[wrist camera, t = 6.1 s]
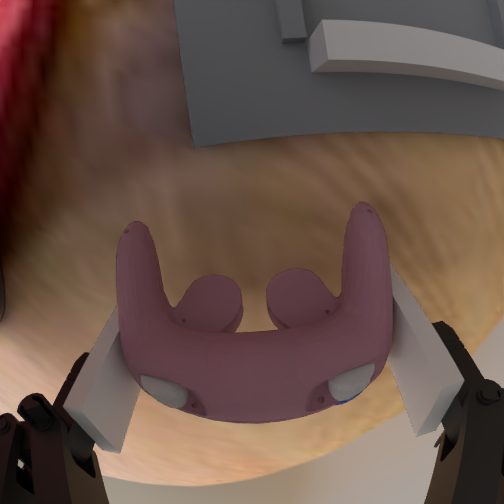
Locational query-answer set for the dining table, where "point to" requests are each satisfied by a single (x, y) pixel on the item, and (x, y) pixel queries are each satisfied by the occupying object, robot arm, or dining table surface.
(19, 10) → the dining table surface
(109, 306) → the dining table surface
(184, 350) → the video game controller
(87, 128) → the dining table surface
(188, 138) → the dining table surface
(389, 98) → the charging cradle
